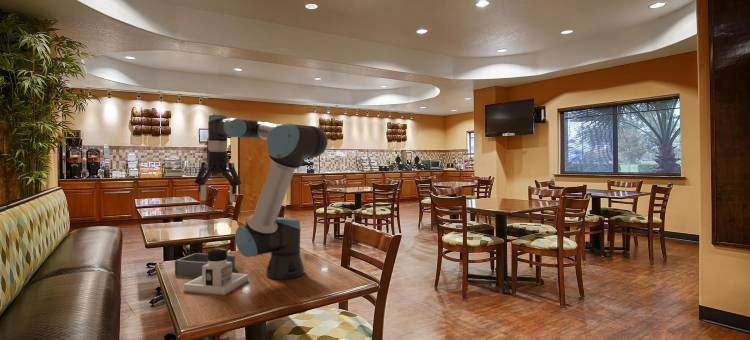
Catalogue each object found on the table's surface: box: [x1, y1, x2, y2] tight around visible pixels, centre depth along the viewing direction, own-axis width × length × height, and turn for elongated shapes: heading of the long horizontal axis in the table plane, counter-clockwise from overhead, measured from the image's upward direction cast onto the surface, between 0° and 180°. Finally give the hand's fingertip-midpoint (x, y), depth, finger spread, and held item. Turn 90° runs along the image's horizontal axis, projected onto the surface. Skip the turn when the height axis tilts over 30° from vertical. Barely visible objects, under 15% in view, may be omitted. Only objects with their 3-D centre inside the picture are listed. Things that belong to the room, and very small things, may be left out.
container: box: [202, 248, 233, 287], centre depth 146 cm, size 8×8×13 cm
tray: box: [183, 272, 249, 296], centre depth 146 cm, size 16×16×3 cm
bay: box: [174, 252, 236, 277], centre depth 165 cm, size 19×13×6 cm
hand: (217, 201), depth 169 cm, fingers open, 13 cm apart
